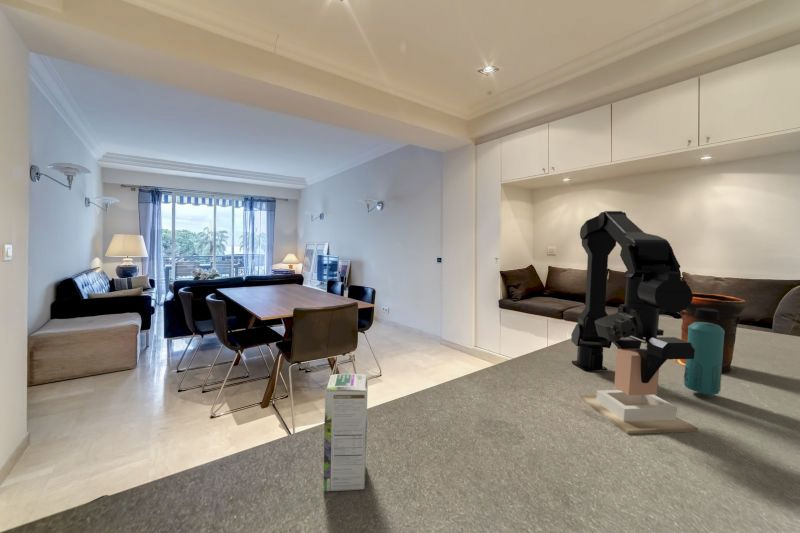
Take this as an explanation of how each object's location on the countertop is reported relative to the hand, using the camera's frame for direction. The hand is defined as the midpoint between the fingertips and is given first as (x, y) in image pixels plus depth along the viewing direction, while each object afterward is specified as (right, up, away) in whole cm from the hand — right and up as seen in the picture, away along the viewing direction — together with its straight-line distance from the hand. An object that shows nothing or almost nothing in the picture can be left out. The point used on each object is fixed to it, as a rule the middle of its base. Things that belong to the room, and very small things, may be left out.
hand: (636, 378), depth 70 cm
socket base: (0, -7, +1) cm, 7 cm away
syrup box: (-55, -8, -20) cm, 59 cm away
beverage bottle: (+21, -7, +10) cm, 24 cm away
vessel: (+39, -6, +29) cm, 49 cm away
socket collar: (0, -7, +1) cm, 7 cm away
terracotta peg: (0, -3, 0) cm, 3 cm away
